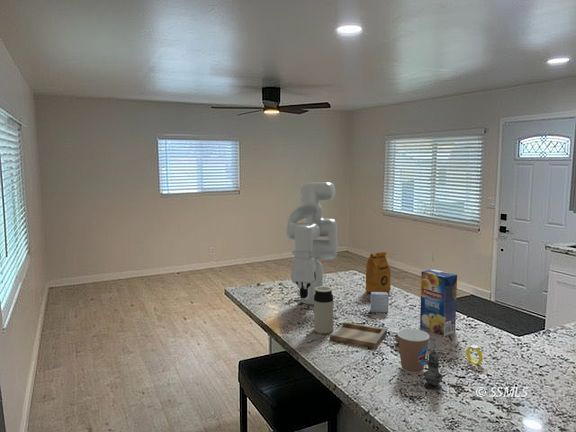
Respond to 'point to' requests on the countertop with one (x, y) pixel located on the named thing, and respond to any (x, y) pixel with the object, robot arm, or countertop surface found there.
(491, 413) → the countertop surface
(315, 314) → the travel mug
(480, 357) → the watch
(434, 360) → the grey stone figurine
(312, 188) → the robot arm
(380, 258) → the coffee package
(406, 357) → the coffee cup
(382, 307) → the medicine box
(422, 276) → the juice carton
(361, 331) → the walnut tray
